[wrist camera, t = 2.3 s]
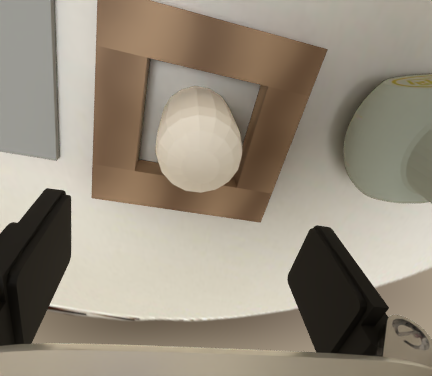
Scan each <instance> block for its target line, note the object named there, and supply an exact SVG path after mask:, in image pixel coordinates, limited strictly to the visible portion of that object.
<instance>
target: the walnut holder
mask: <svg viewBox="0 0 432 376" xmlns="http://www.w3.org/2000/svg"><path fill="white" fill-rule="evenodd" d="M327 50H328V49H324V48H321V47H317V46H313V45H310V44H306V43H303V42H299V41H295V40H292V39H288V38H284V37H281V36H277V35H273V34H270V33H266V32H263V31H259V30H255V29H252V28H248V27H244V26H241V25H237V24H234V23H230V22H226V21H223V20H219V19H215V18H212V17H208V16H205V15H201V14H197V13H194V12H190V11H186V10H183V9H179V8H176V7H172V6H168V5H165V4H161V3H157V2H154V1H150V0H97V34H96V67H95V101H94V135H93V168H92V198H95V199H102V200H109V201H116V202H123V203H129V204H136V205H143V206H150V207H157V208H164V209H171V210H178V211H185V212H192V213H199V214H206V215H213V216H220V217H227V218H233V219H240V220H247V221H254V222H261V220H262V217H263V215H264V212H265V210H266V207H267V205H268V202H269V199H270V197H271V194H272V192H273V189H274V186H275V184H276V181H277V179H278V176H279V174H280V171H281V168H282V166H283V163H284V161H285V158H286V155H287V153H288V150H289V148H290V145H291V143H292V140H293V137H294V135H295V132H296V130H297V127H298V124H299V122H300V119H301V117H302V114H303V112H304V109H305V106H306V104H307V101H308V99H309V96H310V93H311V91H312V88H313V86H314V83H315V81H316V78H317V75H318V73H319V70H320V68H321V65H322V62H323V60H324V57H325V55H326V52H327ZM150 58H151V59H155V60H159V61H164V62H168V63H172V64H176V65H180V66H184V67H189V68H193V69H197V70H201V71H205V72H210V73H214V74H218V75H222V76H226V77H231V78H235V79H239V80H243V81H247V82H252V83H256V84H260V85H261V86H260V89H259V92H258V96H257V99H256V102H255V106H254V109H253V112H252V116H251V119H250V122H249V126H248V129H247V132H246V136H245V139H244V142H243V146H242V157H241V161H240V164H239V168H238V170H237V172H236V173H235V174H234V176H233V177H232V178H231V180H230V181H229V182H227V183H226V184H224V185H223V186H221V187H219V188H218V189H216V190H211V191H207V192H202V193H199V192H192V191H185V190H183V189H181V188H179V187H177V186H175V185H173V184H172V183H171V182H170V181H169V180H168V179H167V178H166V176H165V175H164V174H163V173H162V171H161V168H160V165H159V163H156V162H150V161H144V160H139V151H140V142H141V134H142V125H143V116H144V108H145V99H146V90H147V81H148V73H149V64H150Z"/></svg>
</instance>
